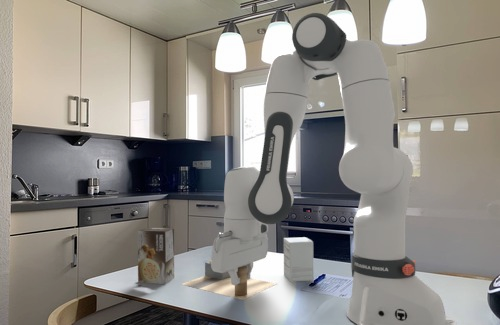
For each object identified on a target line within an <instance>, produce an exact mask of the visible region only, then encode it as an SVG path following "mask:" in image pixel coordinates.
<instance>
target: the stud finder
mask: <svg viewBox="0 0 500 325" xmlns="http://www.w3.org/2000/svg"><path fill="white" fill-rule="evenodd" d="M204 276H208V277H212V278H217V279H221V280H223V279H226V278H229V277H230V275H229V273H228V271H227V272H224V273H219V272H215V271H213V270H212V268H211V260H208V261H207V262H205V261H204Z"/></svg>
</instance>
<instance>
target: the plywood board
mask: <svg viewBox="0 0 500 325" xmlns="http://www.w3.org/2000/svg"><path fill="white" fill-rule="evenodd" d="M180 285H182V286H185V287H190V288H195V289H198V290H203V291H206V292H210V293H213V294H214V293H215V294H217V295H221V296H226V297H230V298H233V299H237V300H241V301H244V300H246V299H247V300H248V298H251V297H253V296H255V295H257V294H258V293H259V294H260V293H261V292H263V291H265V290H267V289H270V288H272V287H273V286H276V285H277V283H276V282H270V281H265V280H261V279H257V278H251V277H250V280H247V295H246V296H236V295H235V285H232V284H231V277H229V278H226V279H223V280H221V279H217V278H212V277H208V276H205V275H203V276H201V277H198V278H194V279H191V280H190V281H186V282H183V283H181V284H180Z"/></svg>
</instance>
